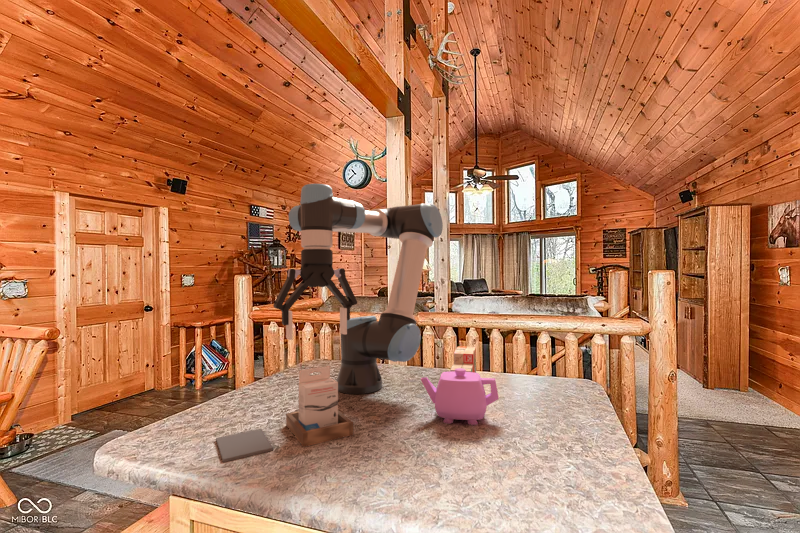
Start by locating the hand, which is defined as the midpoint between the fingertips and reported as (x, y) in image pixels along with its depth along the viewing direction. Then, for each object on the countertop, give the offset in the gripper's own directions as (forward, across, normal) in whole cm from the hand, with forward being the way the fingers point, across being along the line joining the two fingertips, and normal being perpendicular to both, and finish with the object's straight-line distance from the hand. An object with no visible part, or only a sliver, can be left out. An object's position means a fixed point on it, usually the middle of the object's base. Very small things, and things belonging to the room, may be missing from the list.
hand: (317, 336), depth 96 cm
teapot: (+23, -34, +12) cm, 43 cm away
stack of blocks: (+23, -50, -5) cm, 55 cm away
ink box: (+23, 0, 0) cm, 23 cm away
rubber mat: (+23, +17, -1) cm, 28 cm away
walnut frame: (+23, 0, 0) cm, 23 cm away
